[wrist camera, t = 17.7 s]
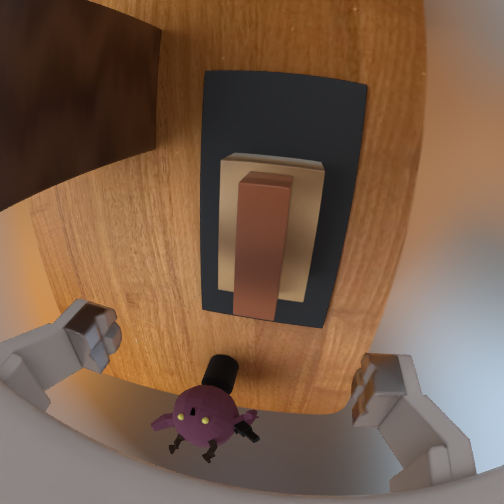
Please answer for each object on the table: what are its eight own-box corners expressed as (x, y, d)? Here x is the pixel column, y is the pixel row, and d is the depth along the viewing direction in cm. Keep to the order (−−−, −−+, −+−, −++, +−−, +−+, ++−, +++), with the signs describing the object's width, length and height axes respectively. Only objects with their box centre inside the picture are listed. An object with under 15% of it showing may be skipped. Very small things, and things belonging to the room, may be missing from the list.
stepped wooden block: (234, 152, 19) (203, 169, 14) (321, 161, 19) (329, 182, 13) (229, 265, 23) (205, 316, 18) (304, 276, 23) (301, 331, 17)
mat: (207, 71, 17) (204, 70, 17) (365, 85, 16) (367, 84, 15) (204, 306, 27) (201, 309, 26) (322, 324, 25) (322, 328, 25)
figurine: (275, 365, 29) (256, 468, 18) (236, 395, 32) (212, 480, 22) (208, 327, 28) (163, 429, 17) (179, 363, 31) (138, 447, 21)
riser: (84, 47, 17) (-74, 50, 3) (161, 29, 16) (-18, -21, 2) (81, 151, 22) (-71, 217, 8) (155, 149, 21) (-29, 228, 7)
